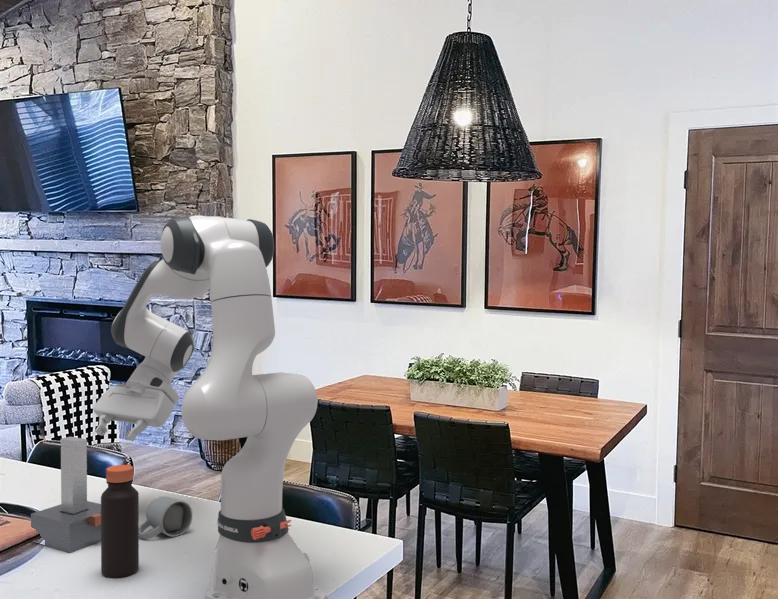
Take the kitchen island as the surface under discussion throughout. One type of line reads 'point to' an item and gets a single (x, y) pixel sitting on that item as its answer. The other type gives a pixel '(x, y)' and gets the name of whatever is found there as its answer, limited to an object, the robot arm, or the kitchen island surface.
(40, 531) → the stand sleeve
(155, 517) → the ceramic mug
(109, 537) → the bottle
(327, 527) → the kitchen island surface
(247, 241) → the robot arm
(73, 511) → the column
